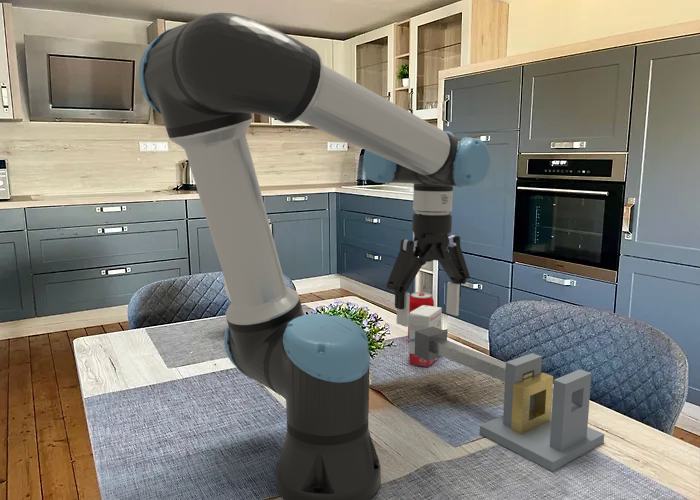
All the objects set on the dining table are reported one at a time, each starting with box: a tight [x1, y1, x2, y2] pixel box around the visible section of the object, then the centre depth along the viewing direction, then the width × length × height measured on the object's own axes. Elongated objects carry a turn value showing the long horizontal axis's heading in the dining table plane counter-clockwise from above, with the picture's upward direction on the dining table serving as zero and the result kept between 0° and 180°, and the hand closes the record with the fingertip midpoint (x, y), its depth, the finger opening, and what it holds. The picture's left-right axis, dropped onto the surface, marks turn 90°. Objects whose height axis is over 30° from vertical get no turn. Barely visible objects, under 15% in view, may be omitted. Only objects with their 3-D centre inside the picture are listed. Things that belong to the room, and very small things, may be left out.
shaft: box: [415, 327, 532, 383], centre depth 103 cm, size 5×25×5 cm, turn 36°
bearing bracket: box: [479, 352, 605, 472], centre depth 91 cm, size 14×14×12 cm
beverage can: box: [407, 291, 435, 340], centre depth 138 cm, size 6×6×12 cm
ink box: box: [408, 305, 443, 368], centre depth 126 cm, size 9×5×12 cm, turn 150°
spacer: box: [511, 372, 554, 434], centre depth 93 cm, size 8×2×8 cm, turn 126°
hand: (428, 319), depth 111 cm, fingers open, 13 cm apart
